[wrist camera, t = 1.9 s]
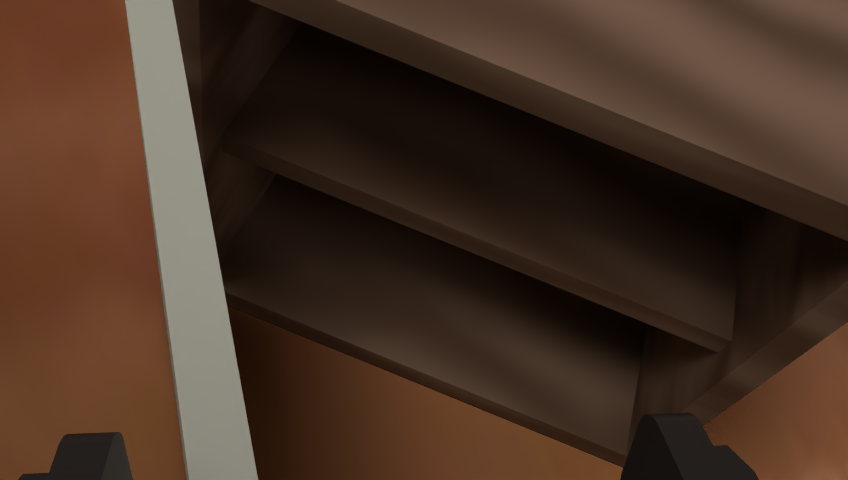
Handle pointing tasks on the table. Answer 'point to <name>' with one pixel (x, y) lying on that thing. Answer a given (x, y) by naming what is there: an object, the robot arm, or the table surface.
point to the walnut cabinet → (533, 193)
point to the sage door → (187, 256)
